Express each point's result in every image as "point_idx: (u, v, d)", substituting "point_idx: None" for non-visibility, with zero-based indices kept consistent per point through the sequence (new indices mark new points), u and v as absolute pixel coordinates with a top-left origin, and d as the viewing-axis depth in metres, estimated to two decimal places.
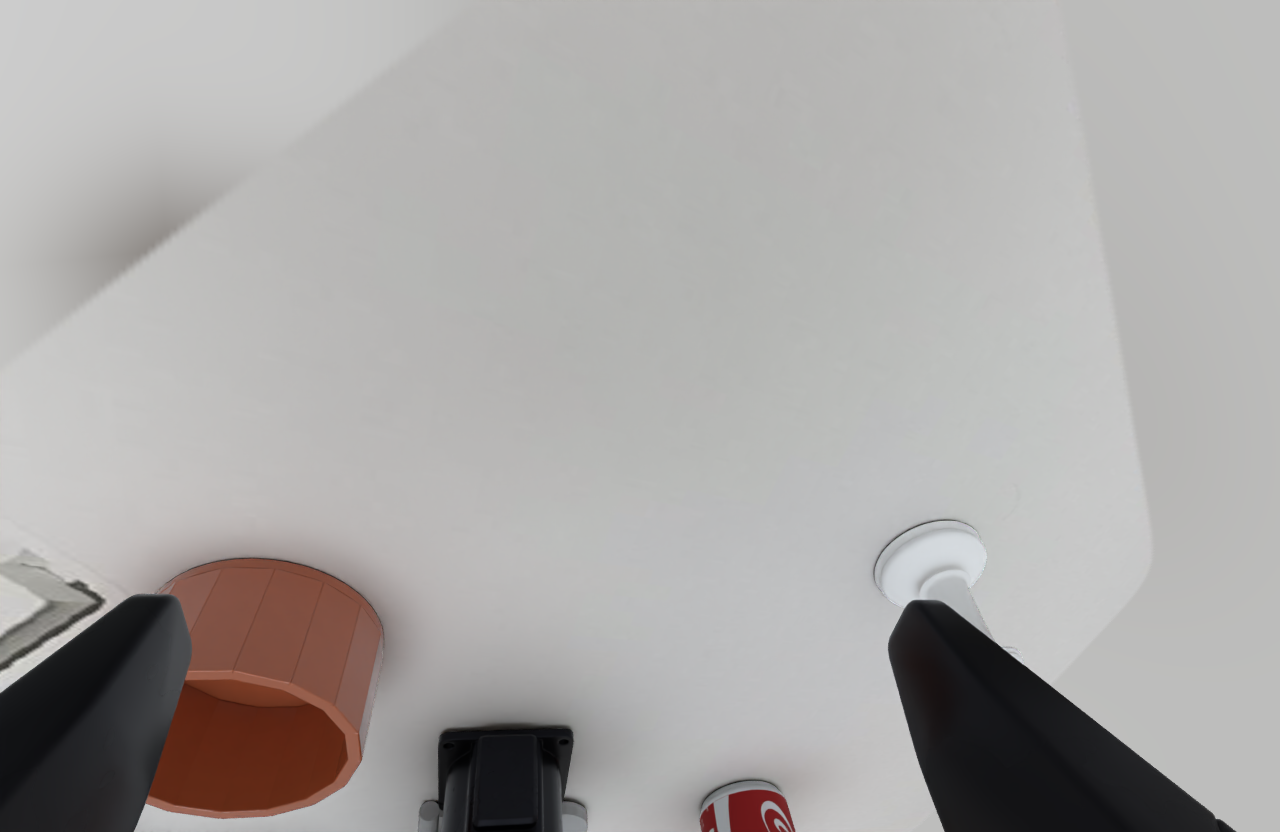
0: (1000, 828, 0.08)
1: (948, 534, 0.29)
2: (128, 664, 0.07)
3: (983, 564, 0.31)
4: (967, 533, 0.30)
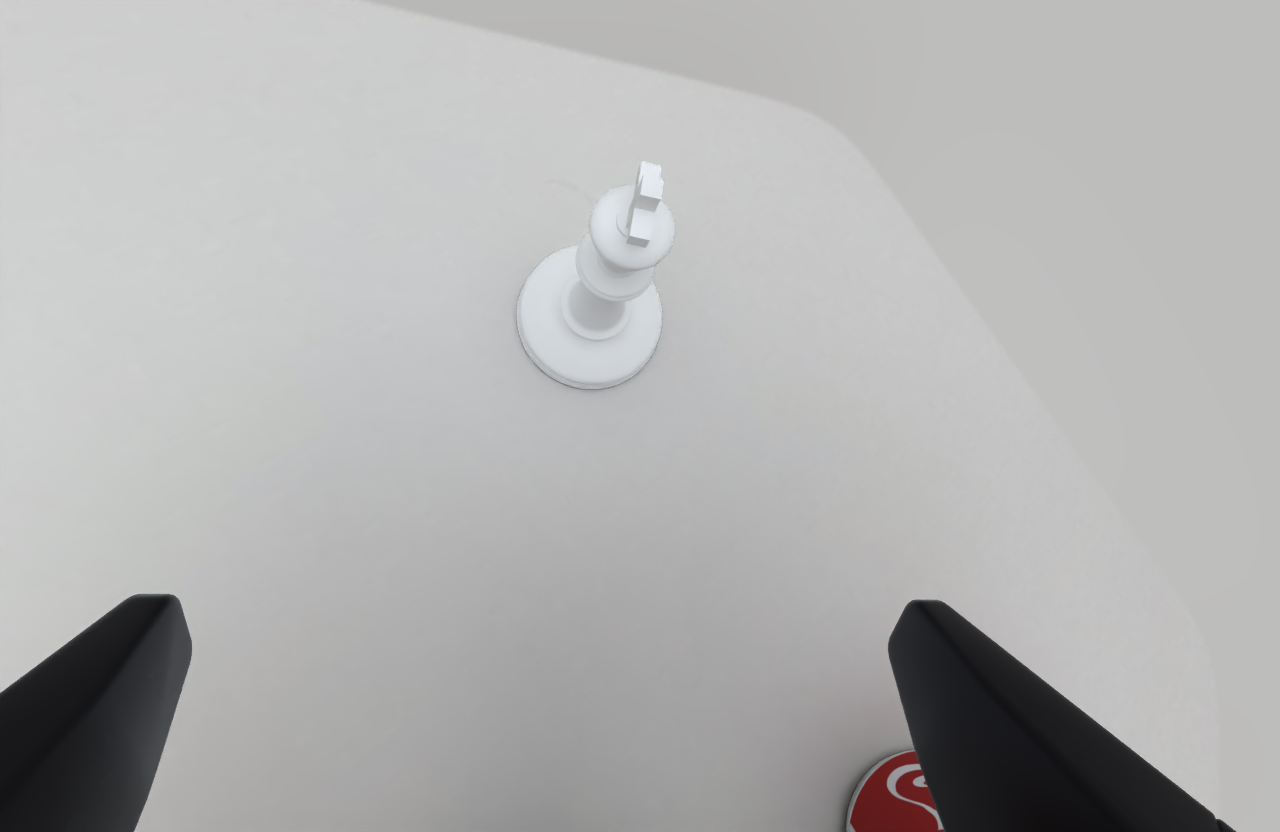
0: (1000, 828, 0.08)
1: (538, 267, 0.23)
2: (128, 664, 0.07)
3: None
4: (558, 250, 0.23)
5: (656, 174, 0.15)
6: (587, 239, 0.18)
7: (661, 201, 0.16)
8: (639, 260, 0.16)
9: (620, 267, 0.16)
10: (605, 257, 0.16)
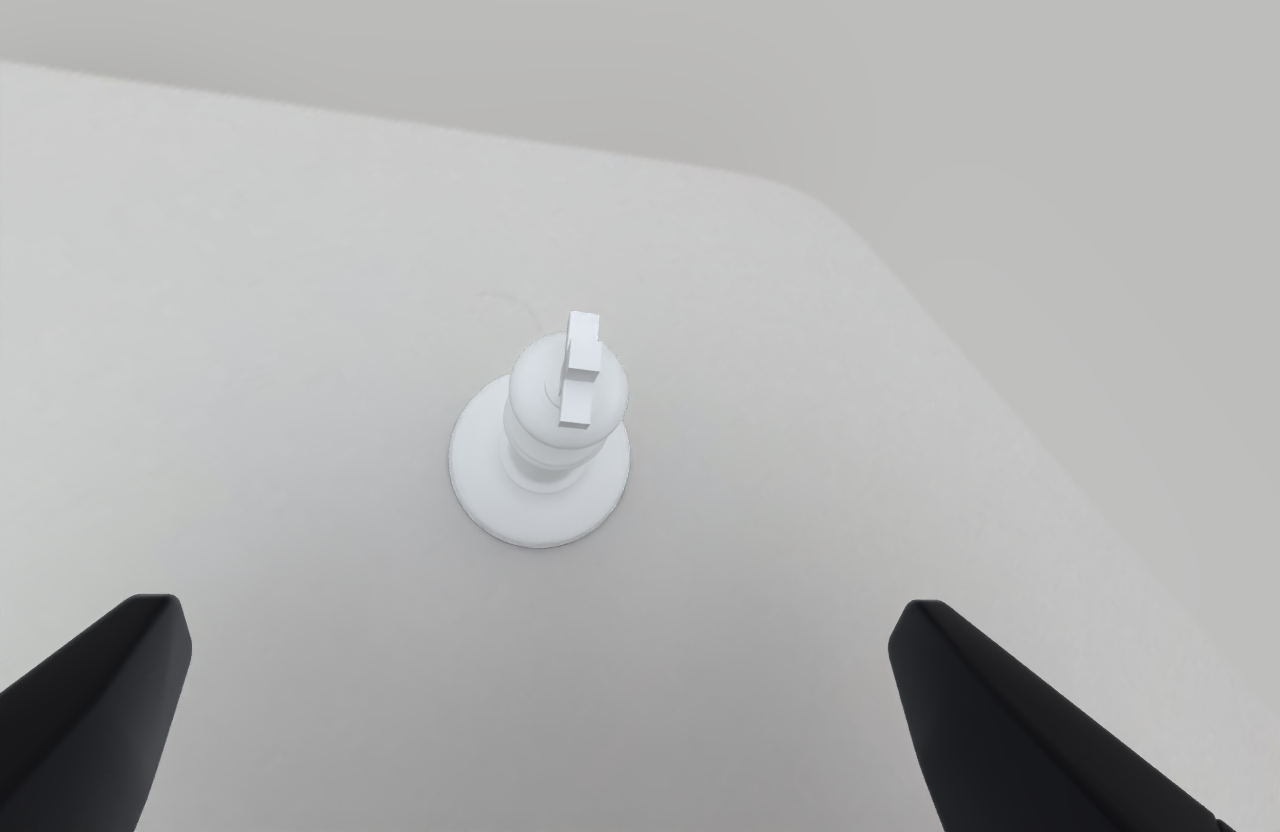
0: (1000, 828, 0.08)
1: (470, 404, 0.18)
2: (128, 664, 0.07)
3: None
4: None
5: (593, 327, 0.10)
6: None
7: (606, 351, 0.12)
8: (581, 437, 0.11)
9: (556, 447, 0.11)
10: (534, 436, 0.11)
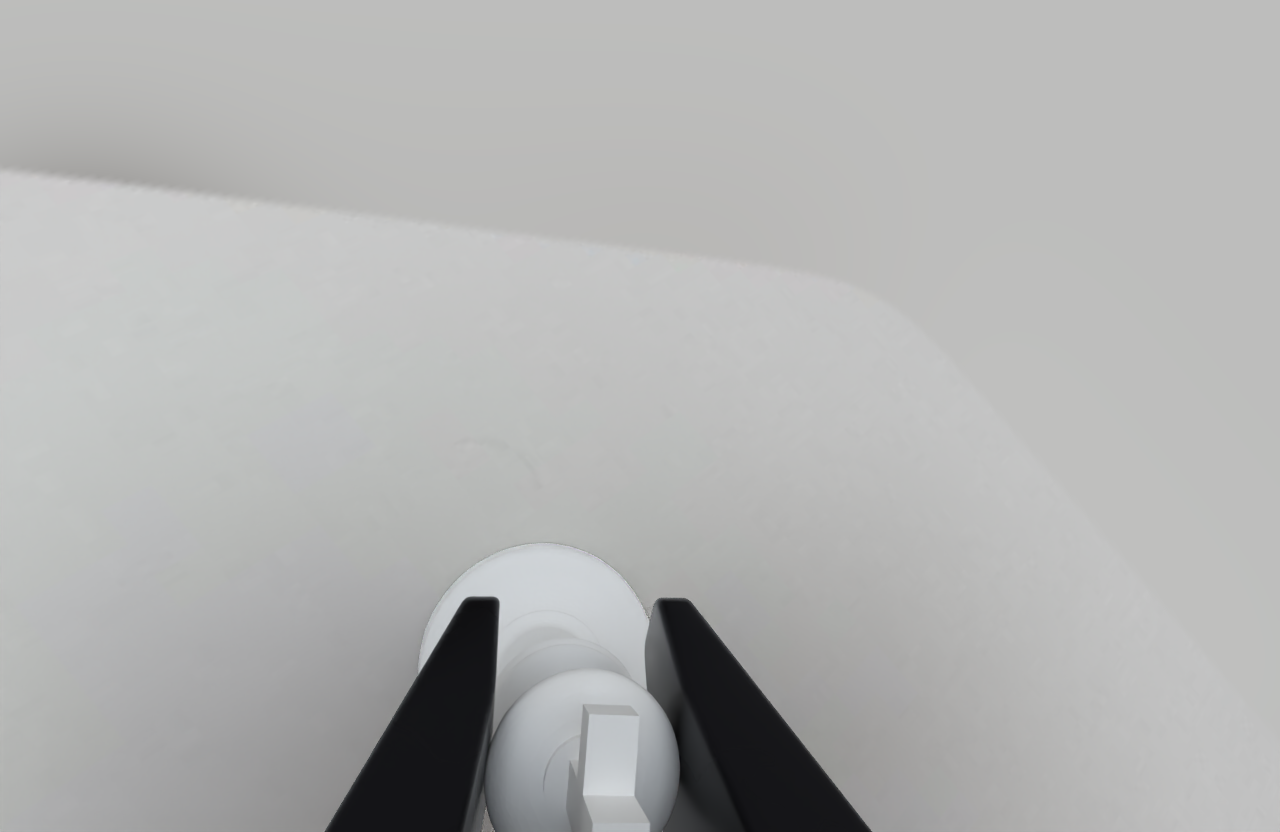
0: None
1: (446, 603, 0.14)
2: (496, 661, 0.07)
3: (584, 566, 0.14)
4: (480, 566, 0.14)
5: (628, 744, 0.06)
6: (502, 686, 0.09)
7: (644, 705, 0.07)
8: None
9: None
10: None
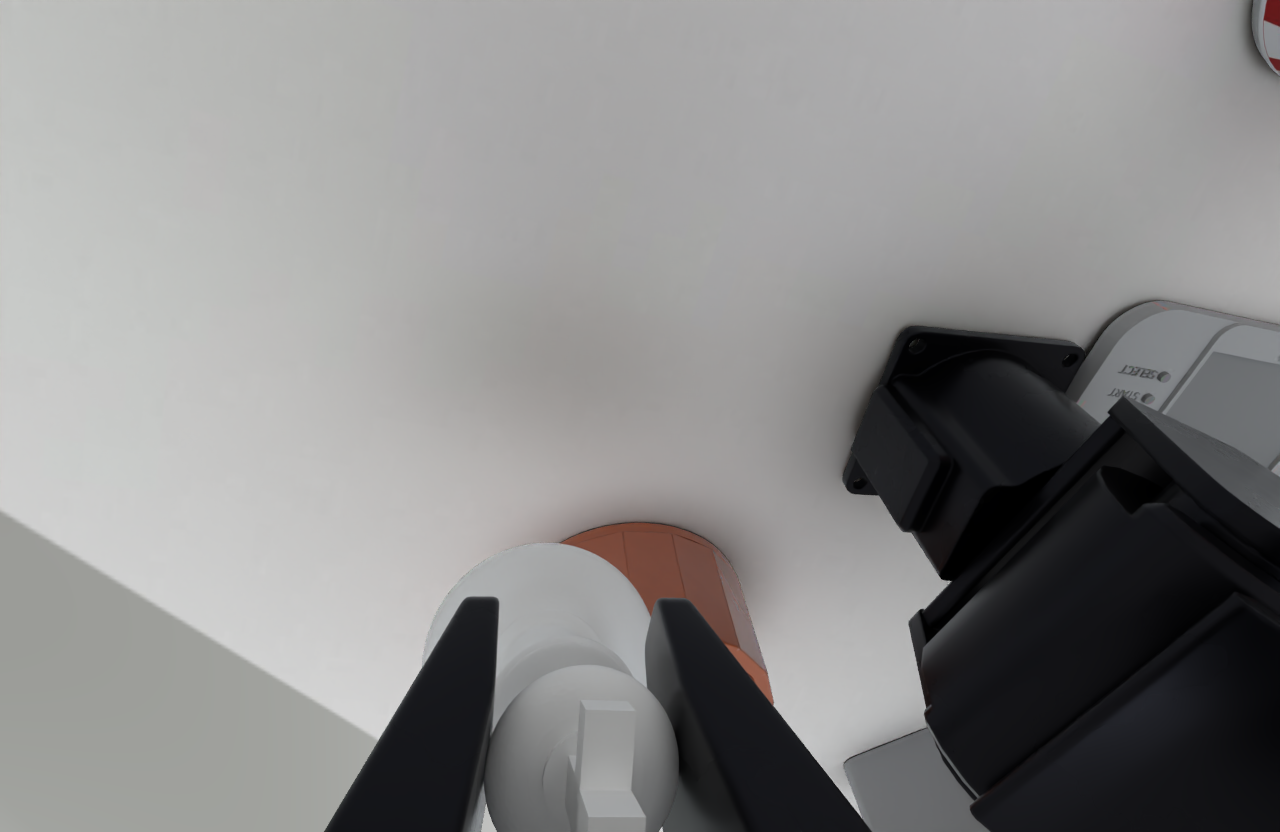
0: None
1: (449, 603, 0.14)
2: (495, 661, 0.07)
3: (586, 565, 0.14)
4: (482, 566, 0.14)
5: (625, 739, 0.06)
6: (503, 685, 0.09)
7: (642, 701, 0.07)
8: None
9: None
10: None
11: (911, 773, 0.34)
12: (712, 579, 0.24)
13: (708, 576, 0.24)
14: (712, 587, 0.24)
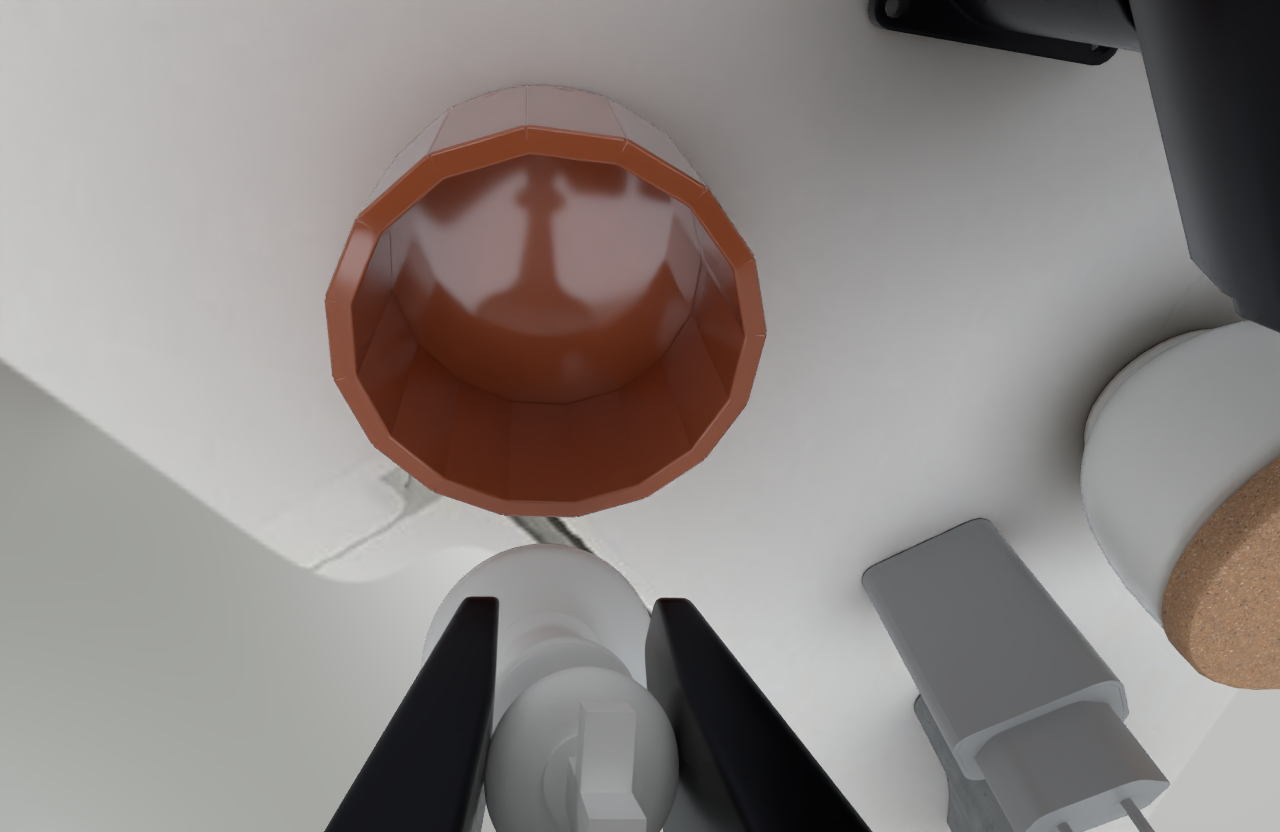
0: None
1: (448, 604, 0.14)
2: (495, 661, 0.07)
3: (585, 565, 0.14)
4: (481, 567, 0.14)
5: (625, 741, 0.06)
6: (503, 686, 0.09)
7: (642, 703, 0.07)
8: None
9: None
10: None
11: (954, 572, 0.25)
12: (666, 143, 0.15)
13: (660, 139, 0.15)
14: (666, 145, 0.15)
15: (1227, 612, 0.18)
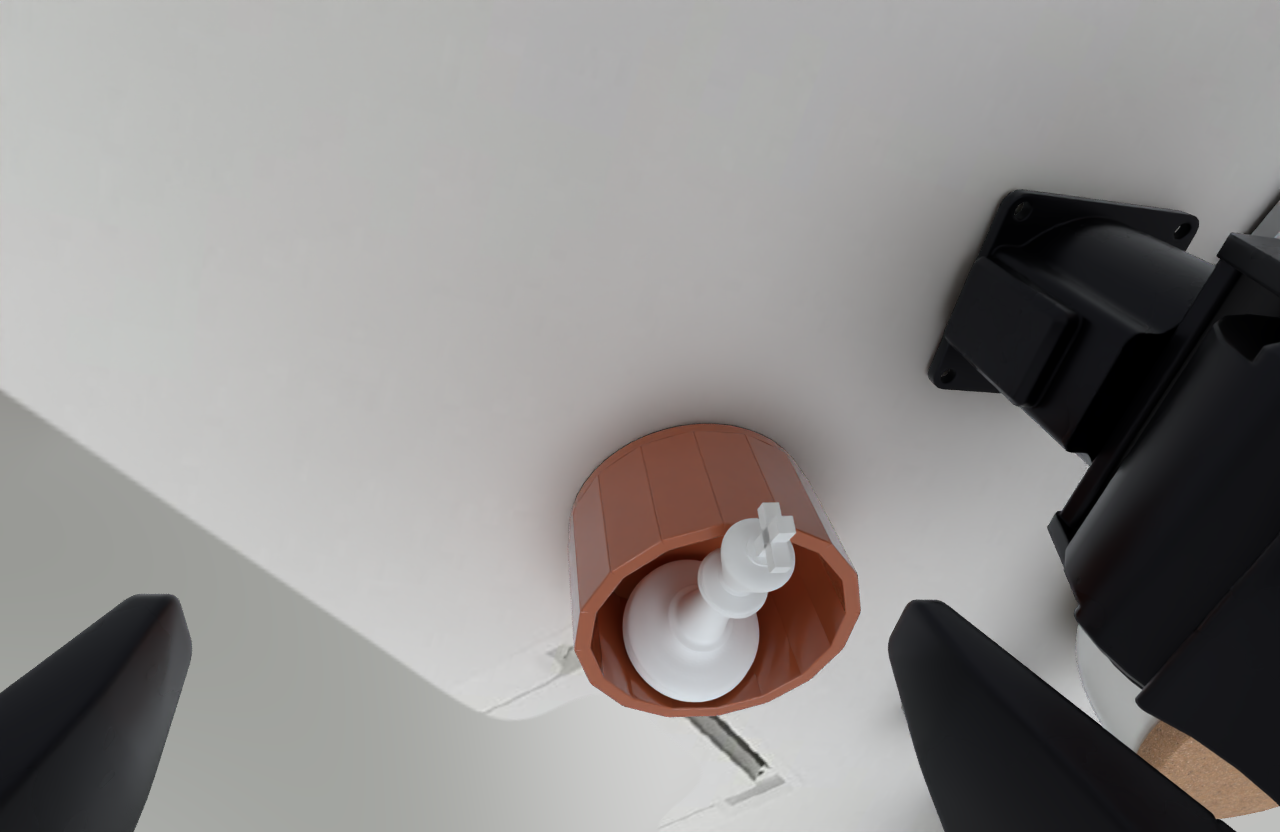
0: (1000, 828, 0.08)
1: (635, 595, 0.25)
2: (128, 664, 0.07)
3: None
4: (648, 574, 0.25)
5: (777, 510, 0.17)
6: (703, 567, 0.20)
7: None
8: (775, 582, 0.18)
9: (759, 591, 0.18)
10: (745, 586, 0.18)
11: None
12: (792, 479, 0.22)
13: (788, 476, 0.22)
14: (793, 486, 0.22)
15: (1179, 778, 0.25)
